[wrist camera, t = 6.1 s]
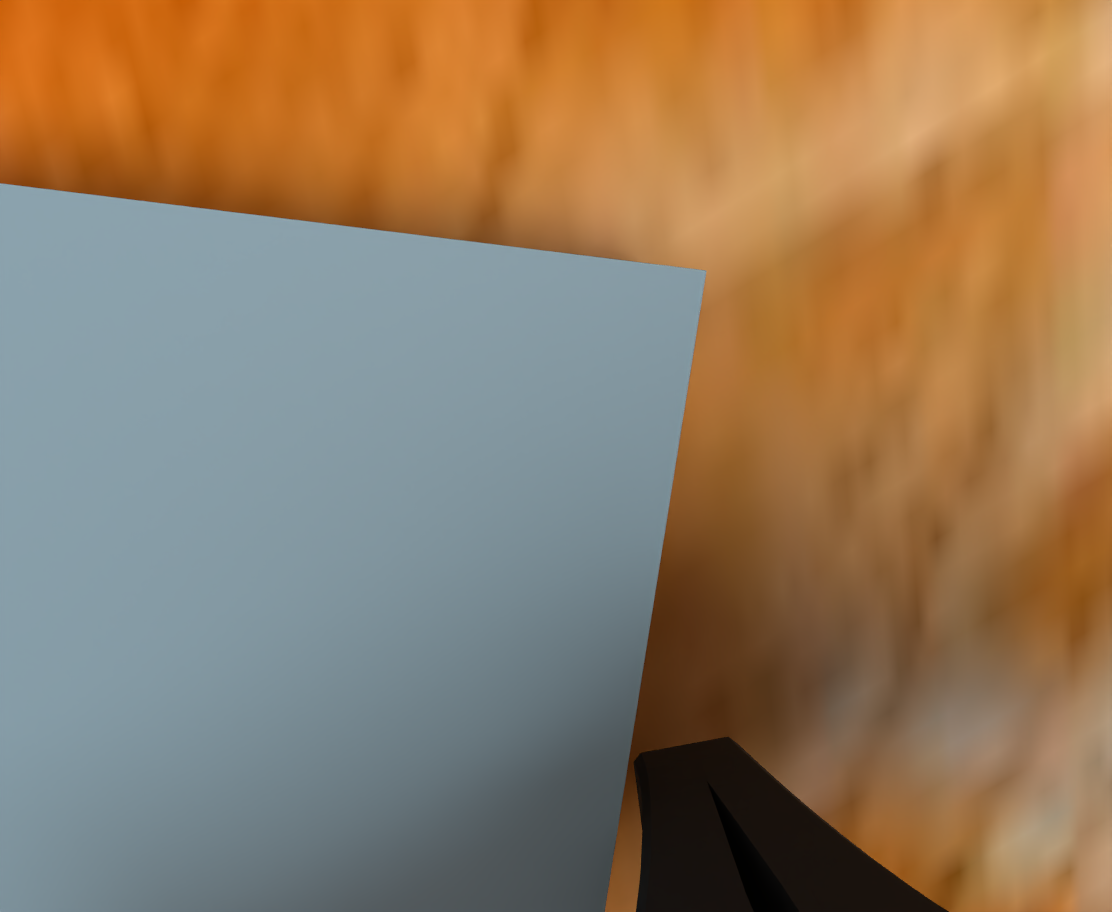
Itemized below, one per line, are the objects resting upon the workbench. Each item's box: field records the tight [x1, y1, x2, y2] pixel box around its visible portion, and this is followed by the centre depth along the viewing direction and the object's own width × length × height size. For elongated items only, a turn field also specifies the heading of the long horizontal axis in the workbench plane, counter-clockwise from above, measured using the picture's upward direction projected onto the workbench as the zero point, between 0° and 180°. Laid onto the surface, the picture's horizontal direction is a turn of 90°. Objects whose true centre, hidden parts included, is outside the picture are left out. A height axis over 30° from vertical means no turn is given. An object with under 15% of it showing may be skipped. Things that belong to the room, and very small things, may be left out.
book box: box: [0, 183, 706, 912], centre depth 10 cm, size 12×8×4 cm, turn 172°
